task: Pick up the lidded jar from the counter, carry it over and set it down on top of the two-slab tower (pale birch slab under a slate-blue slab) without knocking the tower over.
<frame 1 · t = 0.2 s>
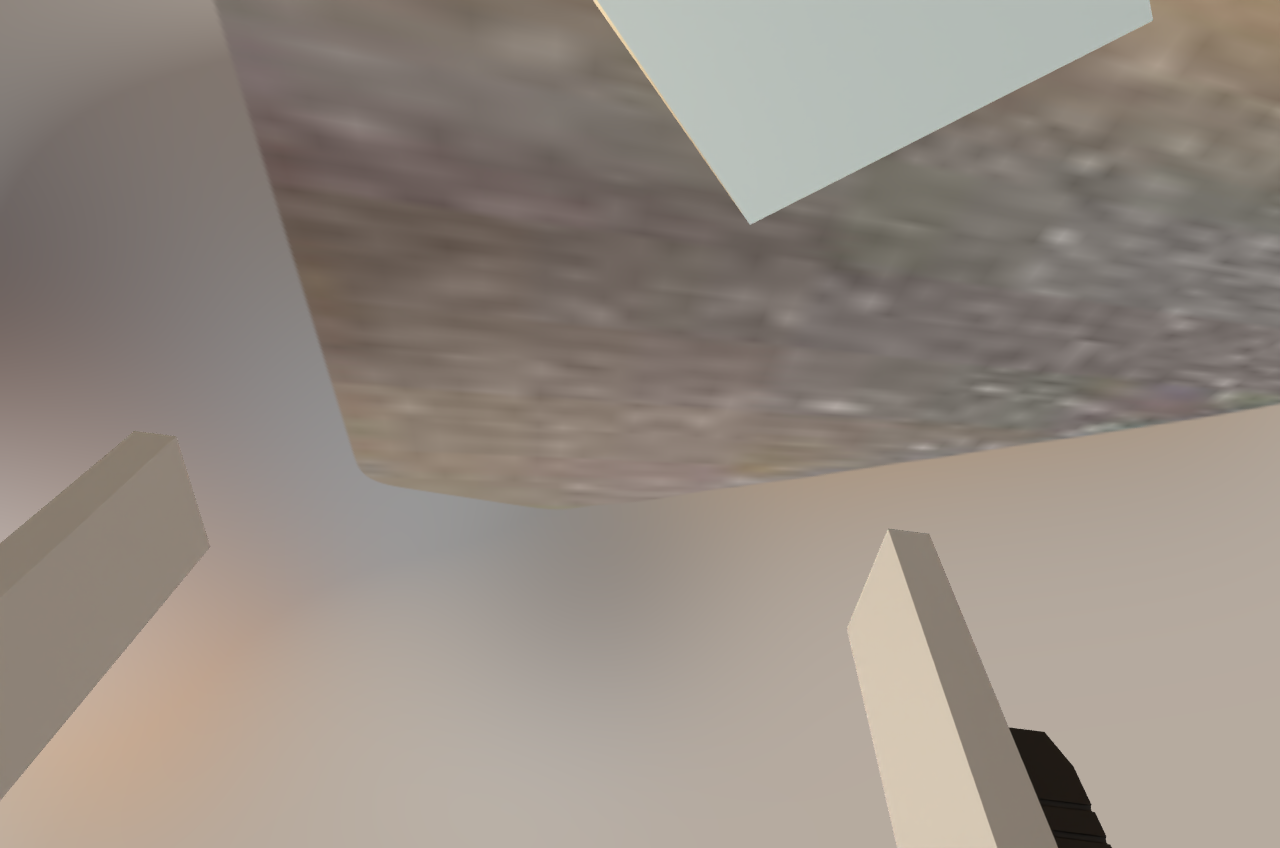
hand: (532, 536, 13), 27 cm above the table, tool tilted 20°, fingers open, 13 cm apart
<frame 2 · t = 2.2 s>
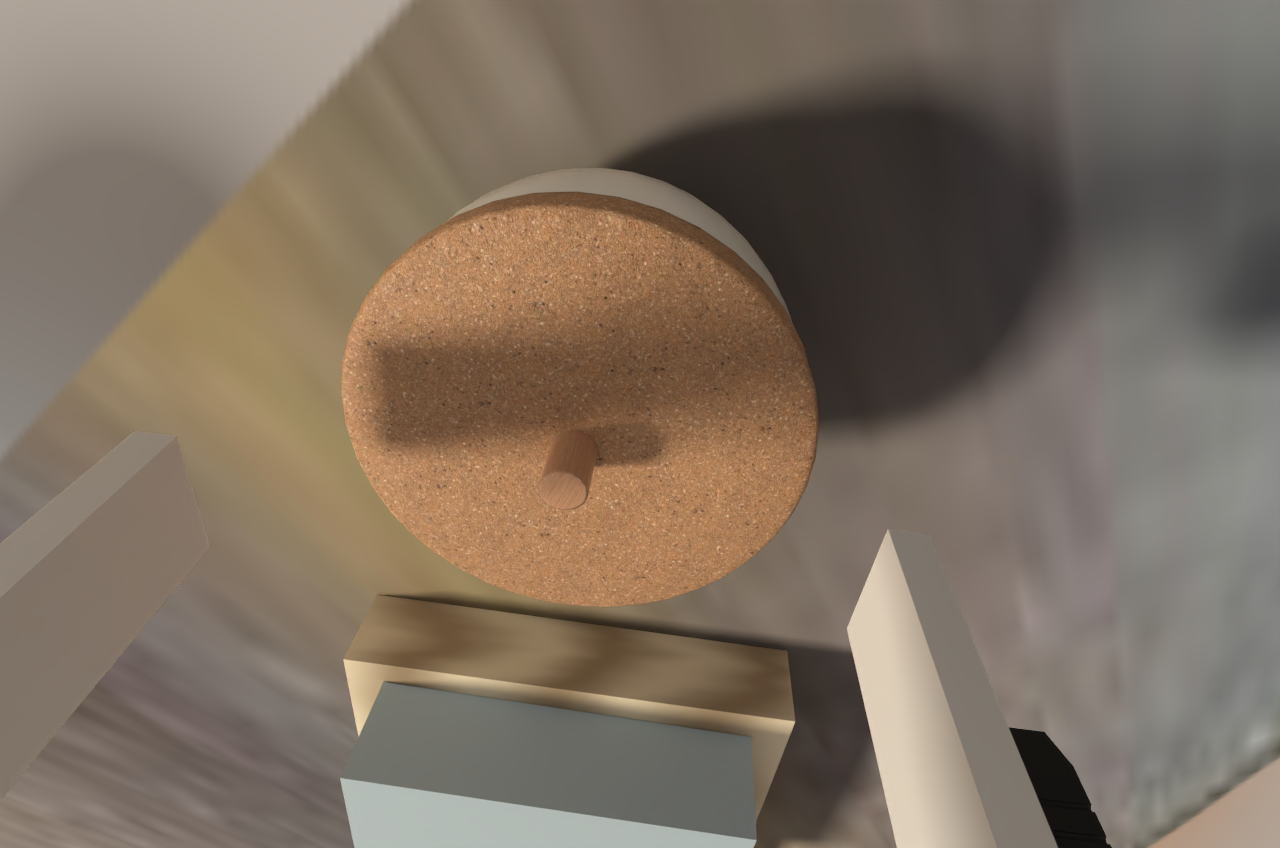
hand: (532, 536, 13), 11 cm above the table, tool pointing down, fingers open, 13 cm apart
lidded jar: (614, 301, 22), on the table
tower base: (572, 730, 36), on the table
tower top: (556, 805, 33), point 3 cm above the table
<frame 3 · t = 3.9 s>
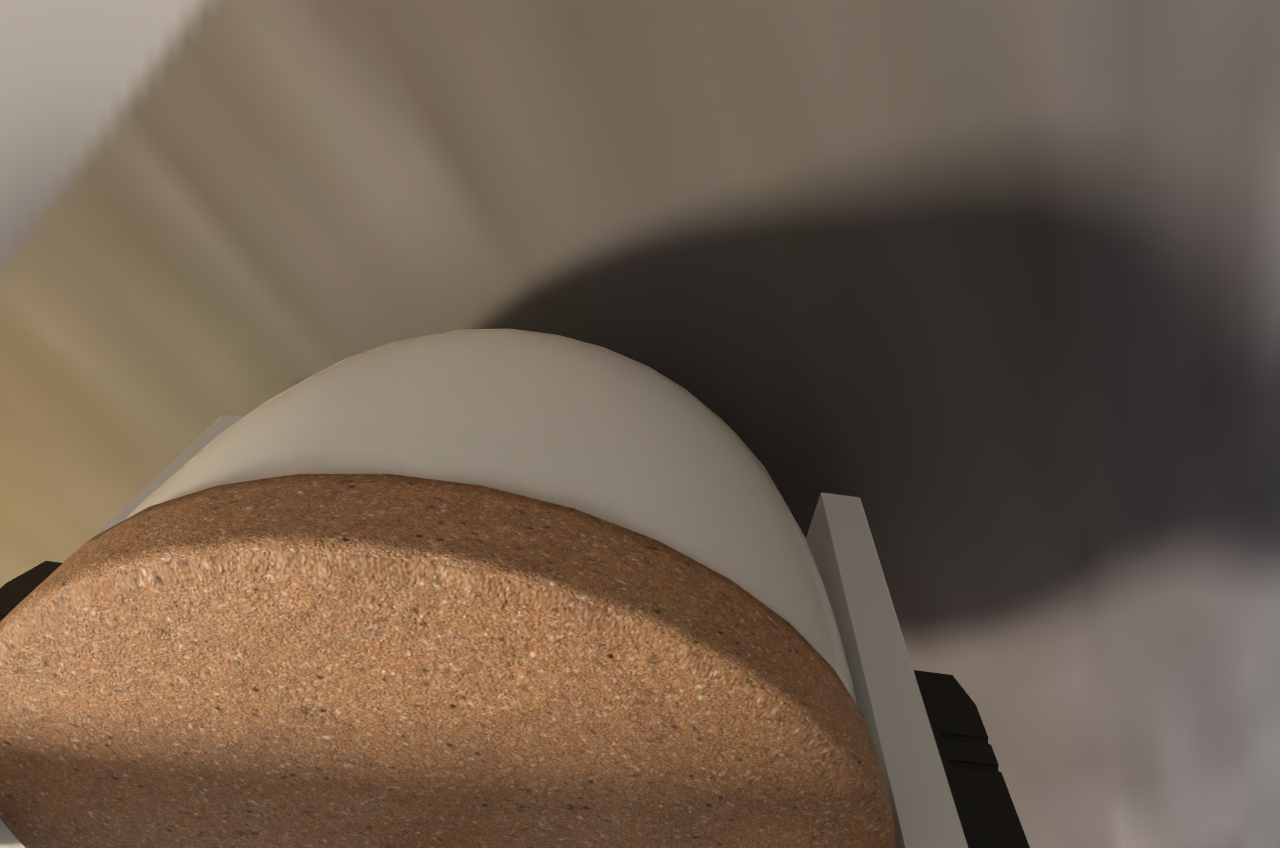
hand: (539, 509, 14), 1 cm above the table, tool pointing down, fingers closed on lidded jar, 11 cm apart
lidded jar: (550, 474, 15), on the table, touching gripper
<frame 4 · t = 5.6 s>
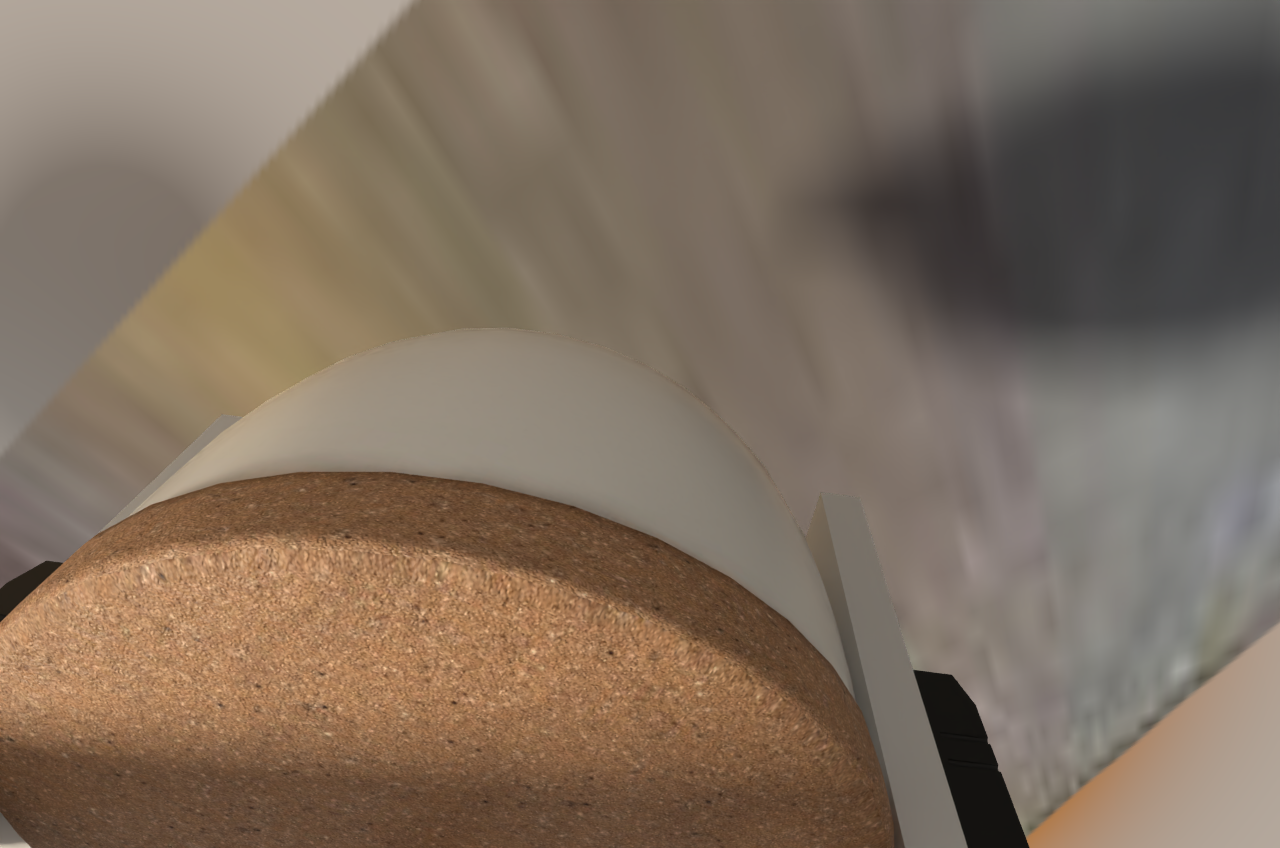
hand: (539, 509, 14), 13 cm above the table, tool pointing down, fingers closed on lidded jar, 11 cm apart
lidded jar: (551, 473, 15), point 12 cm above the table, touching gripper
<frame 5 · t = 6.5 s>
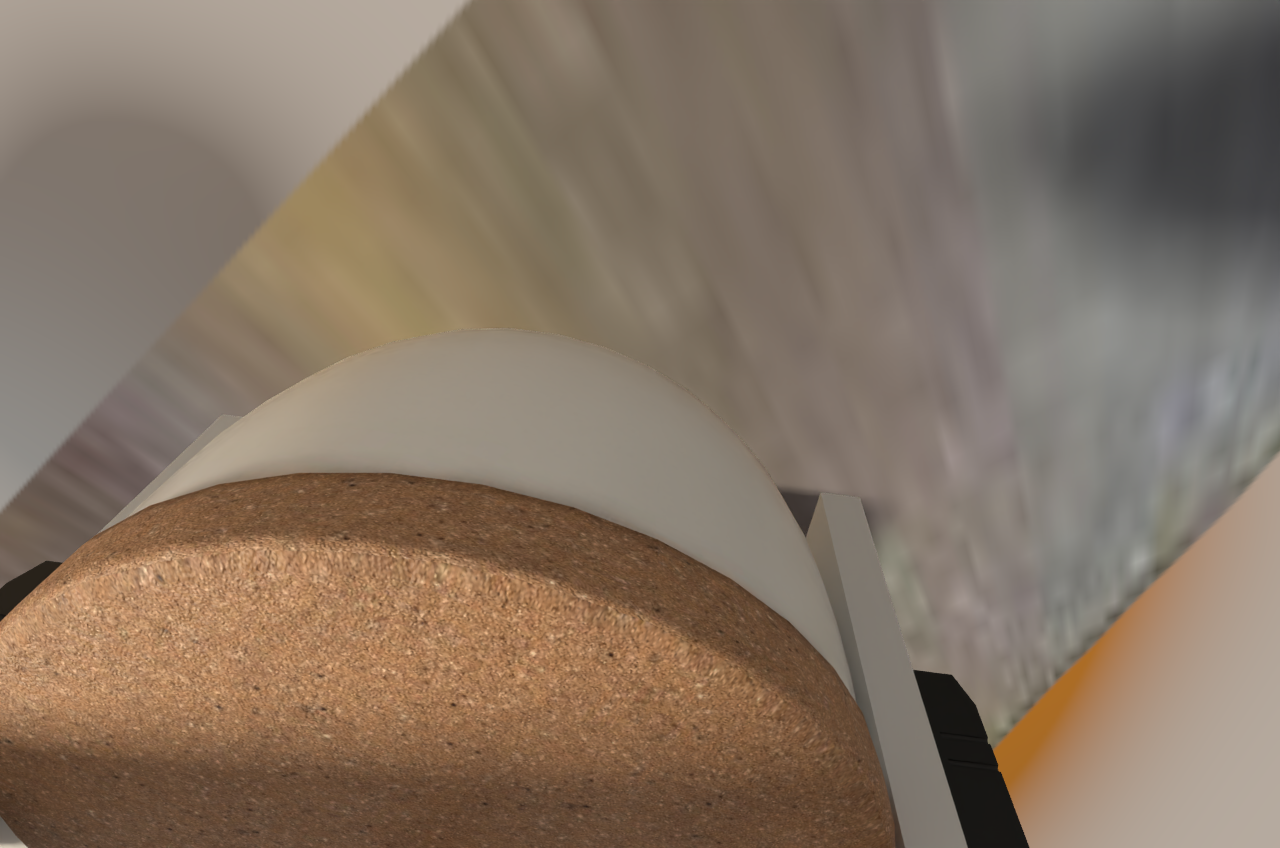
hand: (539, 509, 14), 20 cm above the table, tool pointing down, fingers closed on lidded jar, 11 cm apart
lidded jar: (551, 474, 15), point 19 cm above the table, touching gripper
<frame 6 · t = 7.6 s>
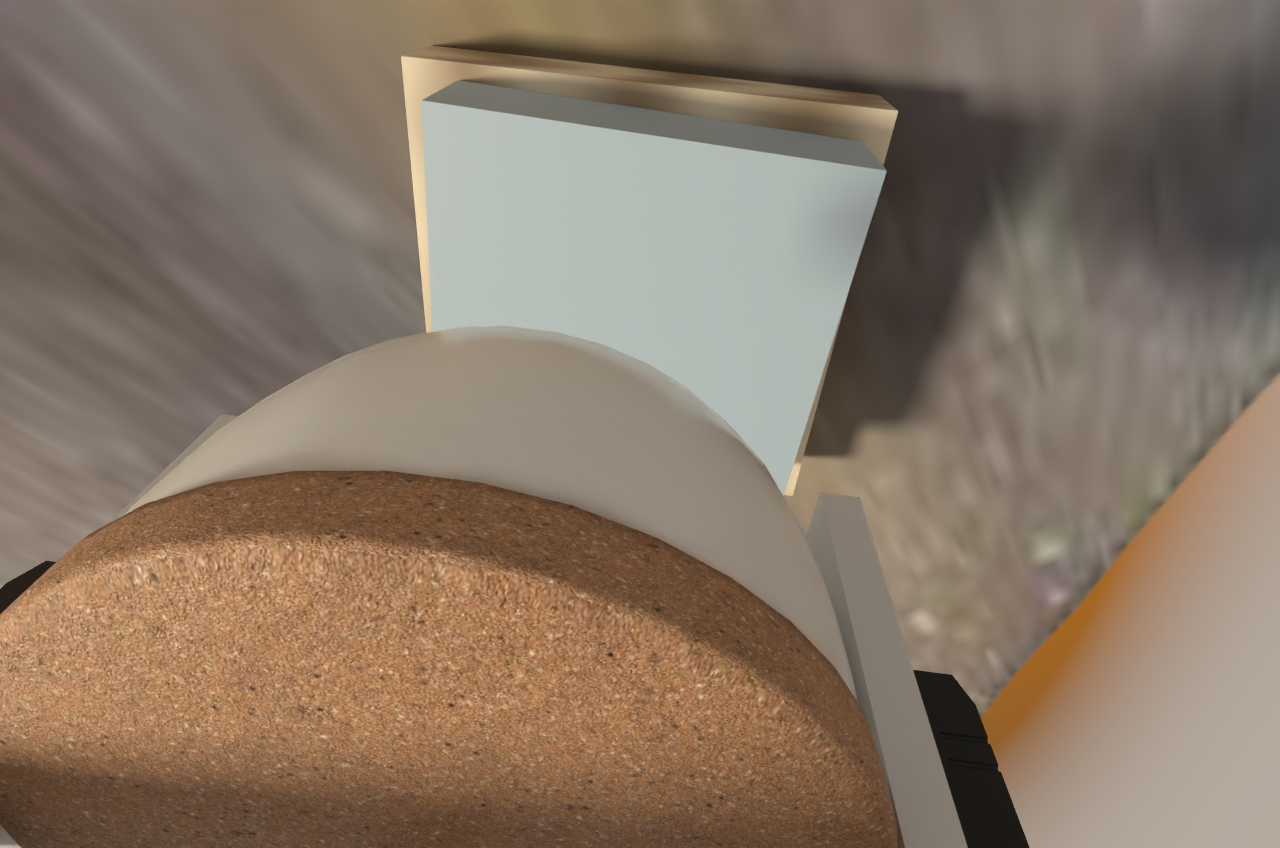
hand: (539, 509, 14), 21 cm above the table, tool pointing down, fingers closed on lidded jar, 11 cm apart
lidded jar: (550, 473, 15), point 19 cm above the table, touching gripper
tower base: (636, 276, 34), on the table, touching tower top
tower top: (636, 298, 30), point 3 cm above the table, touching tower base
when the fingers open (10 cm above the table, at t = 10.7 s): lidded jar drops 2 cm, resting on tower top.
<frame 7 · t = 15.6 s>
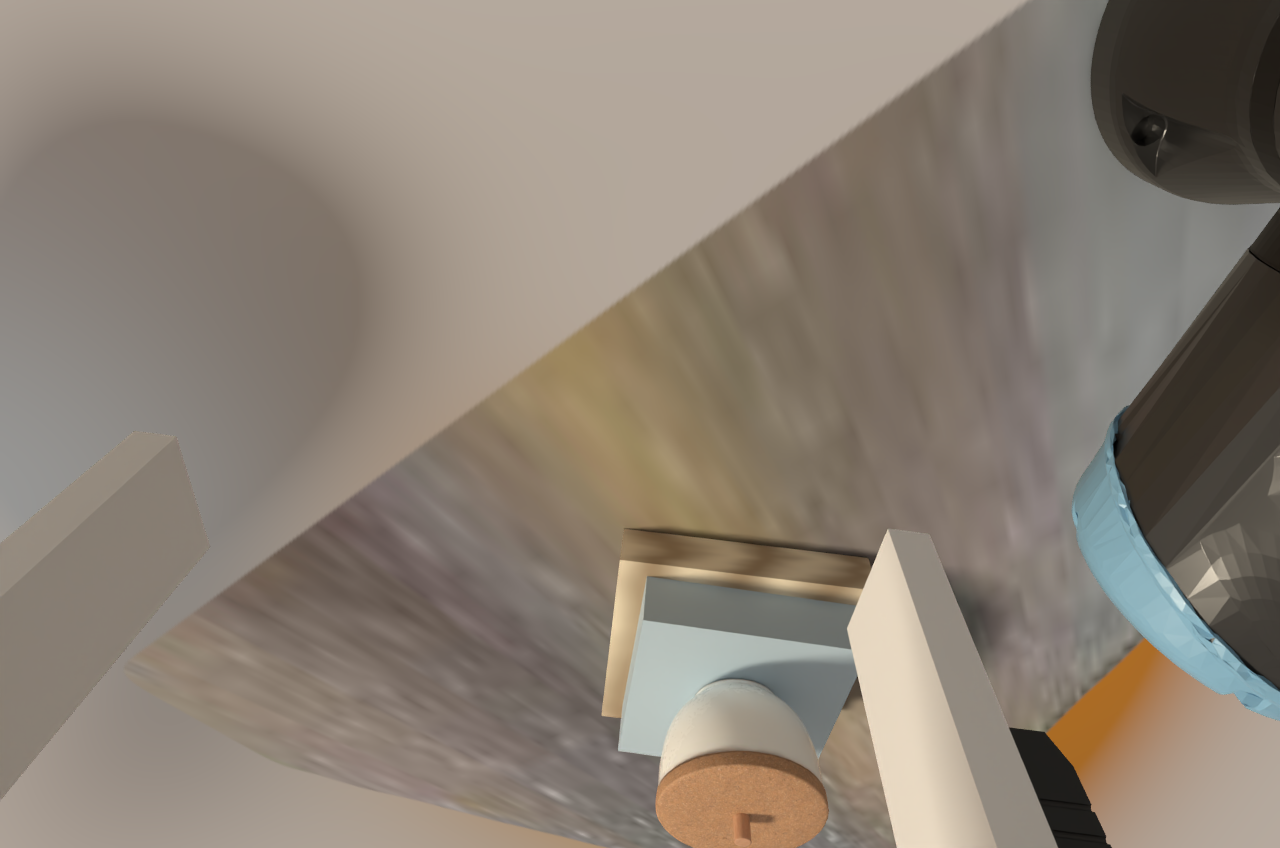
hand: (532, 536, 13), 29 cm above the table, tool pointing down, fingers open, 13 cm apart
lidded jar: (734, 702, 50), point 7 cm above the table, touching tower top
tower base: (725, 618, 57), on the table, touching tower top
tower top: (731, 659, 54), point 3 cm above the table, touching tower base, lidded jar
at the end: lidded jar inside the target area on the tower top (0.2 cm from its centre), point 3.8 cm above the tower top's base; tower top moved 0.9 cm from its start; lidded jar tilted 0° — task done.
